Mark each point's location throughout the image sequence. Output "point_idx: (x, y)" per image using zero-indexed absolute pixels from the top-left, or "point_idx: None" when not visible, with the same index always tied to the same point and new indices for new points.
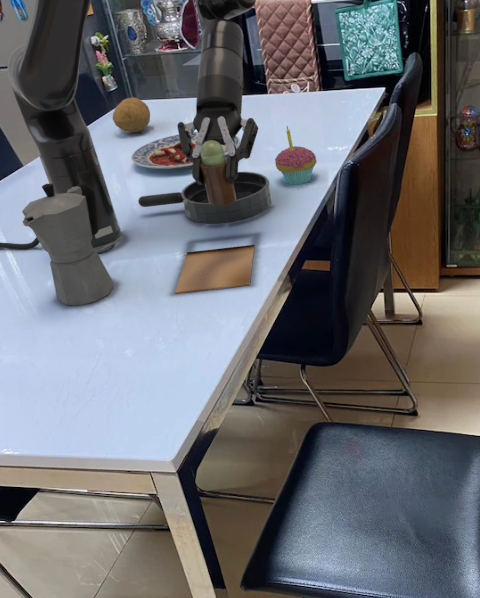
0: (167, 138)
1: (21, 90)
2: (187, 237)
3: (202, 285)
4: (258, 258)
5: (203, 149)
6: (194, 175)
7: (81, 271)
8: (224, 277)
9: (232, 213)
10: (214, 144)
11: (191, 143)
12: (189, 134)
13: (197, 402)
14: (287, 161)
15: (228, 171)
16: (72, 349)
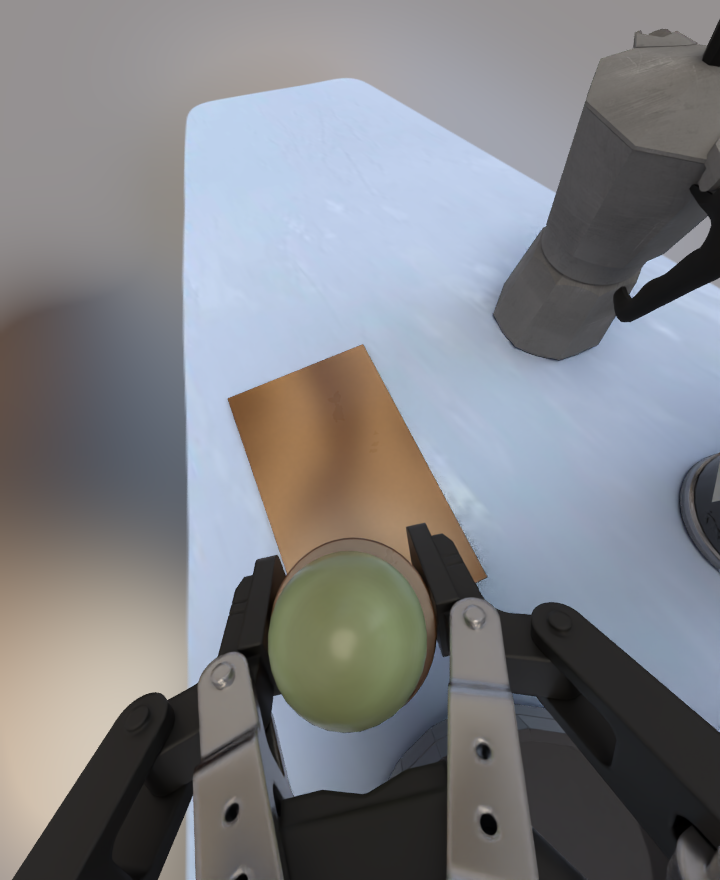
0: None
1: None
2: (520, 610)
3: (321, 374)
4: (255, 516)
5: (368, 563)
6: (439, 540)
7: (532, 244)
8: (290, 411)
9: (426, 747)
10: (292, 615)
11: (632, 806)
12: (678, 840)
13: (193, 160)
14: None
15: (260, 578)
16: (424, 194)
